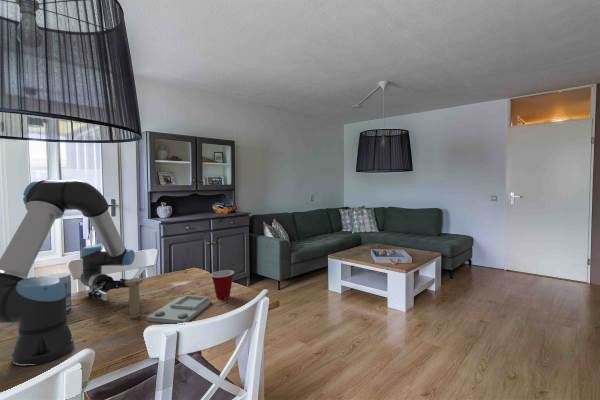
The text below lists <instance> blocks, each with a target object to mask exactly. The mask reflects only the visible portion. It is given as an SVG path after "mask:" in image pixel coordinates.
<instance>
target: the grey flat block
mask: <svg viewBox="0 0 600 400" xmlns="http://www.w3.org/2000/svg"><path fill="white" fill-rule="evenodd" d="M212 300H213V299H209V296H204V295H194V294H193V295H192V294H185V295H184V296H178V297H177V298H175V299H173V300H171V302H168V303H167V304H165V305H164V306H162V307H161V308H159V309H157V310H155V311H154V312H152V313H151V314H150V315H148V316H146V321H147V322H155V323H157V322H158V323H166V324H174V323H183V322H187V323H188V322H190V321H191V320H192V319H193V318H194V317H196V316H197V315H198V314H200V313H201V312H202V311H203V310H204V309H206V308H207V307H209V306H210V305H211V304H212V303H213V302H212ZM210 303H211V304H210ZM209 304H210V305H209Z"/></svg>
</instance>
